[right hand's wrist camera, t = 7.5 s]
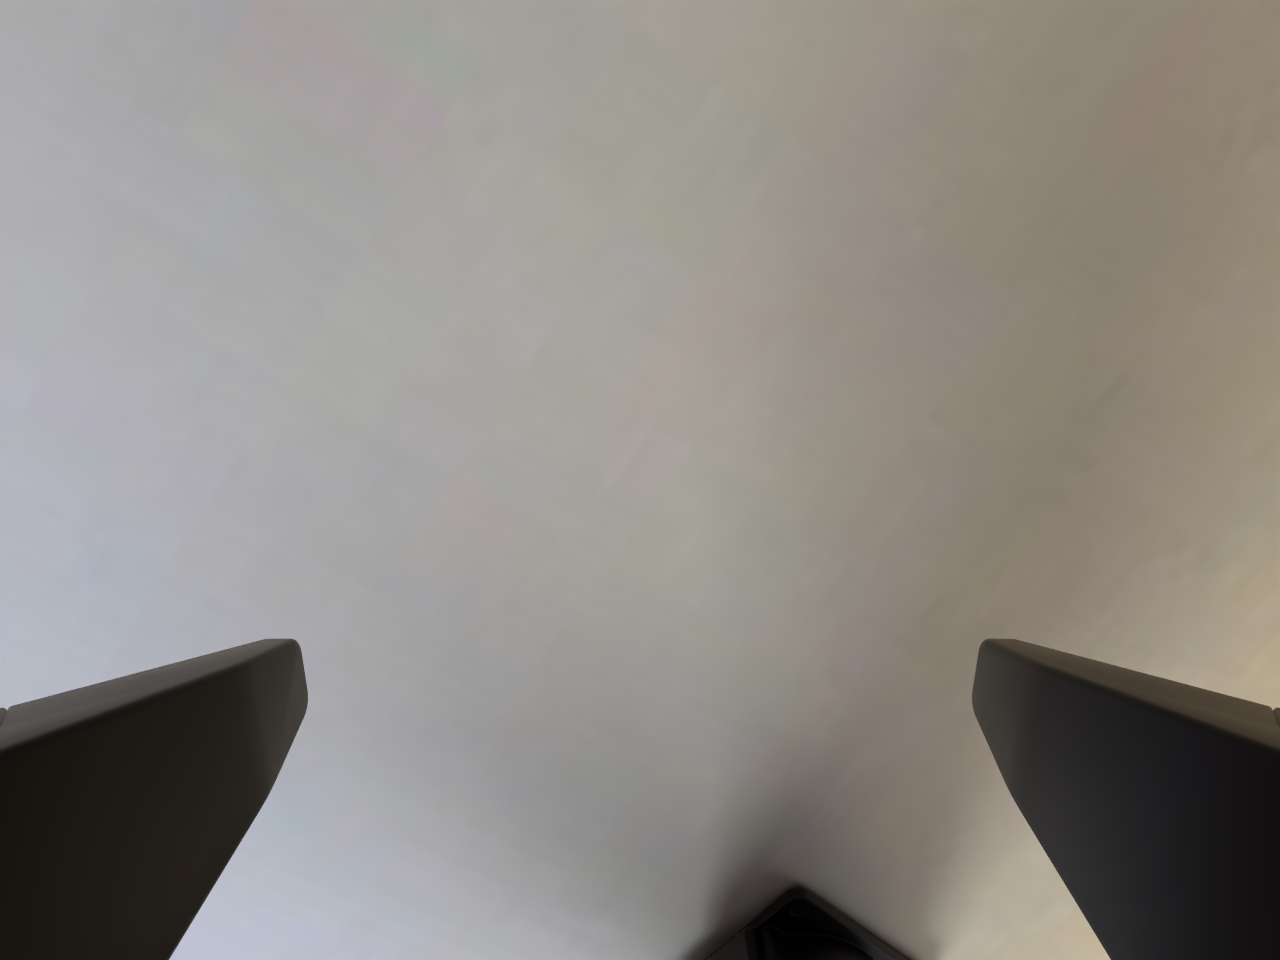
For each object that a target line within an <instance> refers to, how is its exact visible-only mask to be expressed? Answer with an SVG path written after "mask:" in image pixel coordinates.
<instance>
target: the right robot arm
mask: <svg viewBox="0 0 1280 960" xmlns="http://www.w3.org/2000/svg"><path fill="white" fill-rule="evenodd" d="M307 703H308V692H307V685H306V678H305V672H304V665H303V659H302V652H301V648H300V646H299V644H298V642H297V641H296V640H294V639H264V640H260V641H257V642H253V643H249V644H245V645H241V646H238V647H234V648H230V649H226V650H222V651H219V652H215V653H211V654H207V655H204V656H200V657H196V658H192V659H188V660H185V661H181V662H177V663H173V664H169V665H166V666H162V667H158V668H154V669H151V670H147V671H143V672H139V673H135V674H132V675H128V676H124V677H120V678H116V679H113V680H109V681H105V682H101V683H98V684H94V685H90V686H86V687H82V688H79V689H75V690H71V691H67V692H63V693H60V694H56V695H52V696H48V697H45V698H41V699H37V700H33V701H29V702H26V703H22V704H18V705H14V706H11V707H9V708H8V710H6V709H5V708H0V960H169V959H170V957H171V955H172V954H173V952H174V951H175V949H176V947H177V946H178V944H179V942H180V941H181V939H182V937H183V936H184V934H185V932H186V931H187V929H188V927H189V926H190V924H191V923H192V921H193V919H194V918H195V916H196V914H197V913H198V911H199V909H200V908H201V906H202V904H203V903H204V901H205V900H206V898H207V896H208V895H209V893H210V891H211V890H212V888H213V886H214V885H215V883H216V881H217V880H218V878H219V877H220V875H221V873H222V872H223V870H224V868H225V867H226V865H227V863H228V862H229V860H230V858H231V857H232V855H233V854H234V852H235V850H236V849H237V847H238V845H239V844H240V842H241V840H242V839H243V837H244V835H245V834H246V832H247V831H248V829H249V827H250V826H251V824H252V822H253V821H254V819H255V817H256V816H257V814H258V812H259V811H260V809H261V807H262V806H263V804H264V802H265V800H266V799H267V797H268V795H269V793H270V791H271V789H272V787H273V785H274V783H275V781H276V779H277V776H278V774H279V772H280V770H281V767H282V765H283V763H284V761H285V758H286V756H287V754H288V752H289V749H290V747H291V745H292V743H293V740H294V738H295V736H296V734H297V731H298V729H299V727H300V725H301V722H302V720H303V718H304V716H305V713H306V709H307ZM972 703H973V709H974V713H975V716H976V718H977V720H978V722H979V725H980V727H981V729H982V731H983V734H984V736H985V738H986V740H987V743H988V745H989V747H990V749H991V752H992V754H993V756H994V758H995V761H996V763H997V765H998V767H999V770H1000V772H1001V774H1002V776H1003V779H1004V781H1005V783H1006V785H1007V787H1008V789H1009V791H1010V793H1011V795H1012V797H1013V799H1014V800H1015V802H1016V804H1017V806H1018V807H1019V809H1020V811H1021V812H1022V814H1023V816H1024V817H1025V819H1026V821H1027V822H1028V824H1029V826H1030V827H1031V829H1032V831H1033V832H1034V834H1035V835H1036V837H1037V839H1038V840H1039V842H1040V844H1041V845H1042V847H1043V849H1044V850H1045V852H1046V854H1047V855H1048V857H1049V858H1050V860H1051V862H1052V863H1053V865H1054V867H1055V868H1056V870H1057V872H1058V873H1059V875H1060V877H1061V878H1062V880H1063V881H1064V883H1065V885H1066V886H1067V888H1068V890H1069V891H1070V893H1071V895H1072V896H1073V898H1074V900H1075V901H1076V903H1077V904H1078V906H1079V908H1080V909H1081V911H1082V913H1083V914H1084V916H1085V918H1086V919H1087V921H1088V923H1089V924H1090V926H1091V927H1092V929H1093V931H1094V932H1095V934H1096V936H1097V937H1098V939H1099V941H1100V942H1101V944H1102V946H1103V947H1104V949H1105V950H1106V952H1107V954H1108V955H1109V957H1110V959H1111V960H1280V708H1275V709H1274V710H1272V708H1271V707H1269V706H1266V705H1262V704H1258V703H1254V702H1251V701H1247V700H1243V699H1239V698H1236V697H1232V696H1228V695H1224V694H1220V693H1217V692H1213V691H1209V690H1205V689H1201V688H1198V687H1194V686H1190V685H1186V684H1183V683H1179V682H1175V681H1171V680H1167V679H1164V678H1160V677H1156V676H1152V675H1148V674H1145V673H1141V672H1137V671H1133V670H1129V669H1126V668H1122V667H1118V666H1114V665H1111V664H1107V663H1103V662H1099V661H1095V660H1092V659H1088V658H1084V657H1080V656H1076V655H1073V654H1069V653H1065V652H1061V651H1058V650H1054V649H1050V648H1046V647H1042V646H1039V645H1035V644H1031V643H1027V642H1023V641H1020V640H1016V639H986V640H984V641H983V642H982V644H981V646H980V648H979V652H978V659H977V665H976V672H975V678H974V685H973V692H972ZM799 903H801V905H797V906H795V904H799ZM707 960H907V959H906V958H905V957H903V956H902V955H900V954H899V953H897V952H896V951H895V950H893V949H892V948H890V947H889V946H887V945H886V944H884V943H883V942H882V941H880V940H879V939H877V938H876V937H874V936H873V935H871V934H870V933H869V932H867V931H866V930H864V929H863V928H861V927H860V926H858V925H857V924H856V923H854V922H853V921H851V920H850V919H848V918H847V917H845V916H844V915H843V914H841V913H840V912H838V911H837V910H835V909H834V908H832V907H831V906H830V905H828V904H827V903H825V902H824V901H822V900H821V899H820V898H818V897H817V896H815V895H814V894H812V893H811V892H809V891H808V890H806V889H804V888H792V889H790V890H788V891H786V892H785V893H784V894H782V895H781V896H780V897H779V898H778V899H777V900H776V901H774V902H773V903H772V904H771V905H770V906H769V907H767V908H766V909H765V910H764V911H763V912H762V913H760V914H759V915H758V916H757V917H756V918H755V919H753V920H752V921H751V922H750V923H749V924H748V925H746V926H745V927H744V928H743V929H742V930H741V931H739V932H738V933H737V934H736V935H735V936H734V937H732V938H731V939H730V940H729V941H728V942H727V943H725V944H724V945H723V946H722V947H721V948H720V949H719V950H717V951H716V952H715V953H714V954H713V955H712V956H710V957H709V958H708V959H707Z"/></svg>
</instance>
